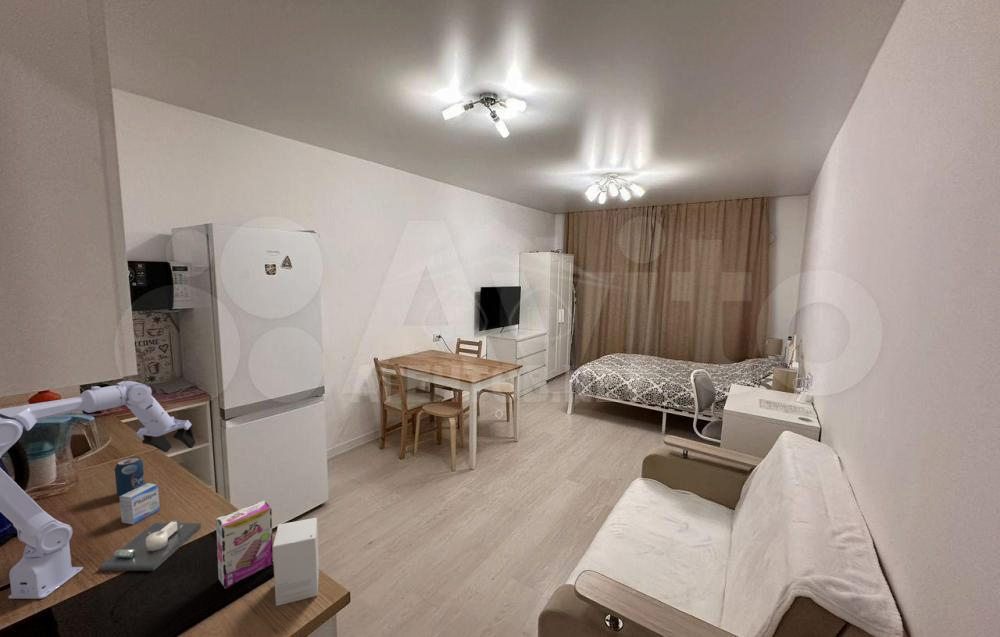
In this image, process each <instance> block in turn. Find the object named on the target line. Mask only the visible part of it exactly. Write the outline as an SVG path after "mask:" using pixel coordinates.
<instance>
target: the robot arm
mask: <svg viewBox="0 0 1000 637" xmlns="http://www.w3.org/2000/svg"><path fill="white" fill-rule="evenodd" d="M152 392H153V391H152V387H150V386H148V385H146V384H144V383H140V382H137V381H134V380H133V381H131V380H126V381H125V380H122V381H120V382H117V383H116V384H115V385H114V384H113V385H108V386H104V387H101V386H97V385H94V386H91V387H90V389H88V390H84V391H83V392H82V393H80V394H79V395H78V396H75V397H70V398H62V399H57V400H49V401H42V402H36V403H30V404H24V405H18V406H10V407H4V408H0V459H1V458H2V456H3V455H4V454H5V453H6V452H8V450H10V448H12V447H13V445H15V444H16V443H17V441H19V439H20V438H21V436H22V434H23V431H27V432H29V431H30V430H31V429H32V428H34V426H35V425H36V423H37V422H38V421H40V420H46V419H49V418H52V417H57V416H60V415H64V414H68V413H72V412H77V411H83V412H85V413H95V412H99V411H103V410H108V409H113V408H117V407H121V406H125V405H126V406H127V409H129V411H130V412H131V413H132V414H133V416H135V417H136V418H137V420H139V422H140V423H141V424H142V425H143V426H144V427H141V428H139V430H138V431H137V432H136V435H137V436H138V437H139V438H140V439H141V438H143V440H142V442H141V443H142V444H144V445H148V446H151V447H154V448H156V449H158V450H161V452H163V453H168V452H169V451H170V449H171V448H172V445H171V443H170V442H169V440H168V439H167V438H166V436H165V435H166V434H168V433H171V432H174V431H176V432H175V433H174V435H173V436H172V437H173V439H176V440H179V441H180V442H182V444H183V445H185V446H186V447H187V448H189V449H193V447H194V446H195V445H196V440H195V438H194V434H193V422H192V421H191V422H190V421H189V419H187V420H182V419H176V418H175V417H174V416H171V415H169V414H168V413H167V411H166V410H165V409H164V408H163V406H162V405H161V403H159V402H158V401H157V399H155V397H154V396H153V395H152ZM0 513H1V514H2V515H3V516H4V517H5V518H7V519H8V521H10V522H11V523H12V525H13V528H15V529H16V531H17V538H18V540H19V541H20V542H22V543H25V547H24V549H23V555H22V558H21V559H20V560H19V561H18V562H17V563H16V564H15V565H13V567H11V569H10V570H9V574H8V575H9V576H8V577H9V583H10V590H11V591H10V592H11V594H10V595H8V600H9V599H14V600H15V599H22V600H23V599H29V600H31V599H34V600H35V599H41V600H42V599H44V598H46V597H47V596H49V595H50V594H51V593H53V592H54V591H56V590H57V589H58V588H59V587H62V586H63V585H64V584H65V583H66V582H68V581H69V580H70V579H71V578H73V577H74V576H76V575H77V574H79V573H80V572H81V571H83V569H84V567H83V566H72V556H71V549H70V547H71V546H70V540H71V538H72V536H73V528H72V526H71V525H70V524H67V523H63V522H62V521H59V520H57V519H56V518H55V517H53V516H52V515H50V514H49V513H48V512H47V511H45V510H44V509H42V507H41V506H39V504H38V503H37V502H36V501H35V500H34V499H33V498H32V497H31V496H29V494H28V493H27V492H25V490H24V489H22V488H21V487H20V485H18V483H17V482H16V481H14V480H13V479H12V477H11V476H9V474H7V473H6V471H4V470H3V469H2V468H1V467H0Z"/></svg>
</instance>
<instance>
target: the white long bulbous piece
mask: <svg viewBox="0 0 1000 637" xmlns="http://www.w3.org/2000/svg"><path fill="white" fill-rule="evenodd" d="M179 528H180V519H172V520H171V521H170V522H169V524H168V525H167V526H165V527H164V528H163V529H162V530H160V531H158V532H155V533H152V534H150V535H149V536H148V537H147V538H146V549H147V551H156V550H159V549H161V548H163V547H165V546H166V545H167V544H168V537H169V536H171V535H172V534H173V533H174V532H175V531H177V530H178V529H179Z"/></svg>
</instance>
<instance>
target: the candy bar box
mask: <svg viewBox="0 0 1000 637" xmlns="http://www.w3.org/2000/svg"><path fill="white" fill-rule="evenodd" d="M272 514H273V513H272V506H270V505H269V504H268V503H267V501H265V500H262V501H258V502H257V503H254V504H251V505H250V506H245V507H244V508H240V509H238V510H235V511H233V512H230V513H227V514H224V515H222V516H219V517H217V518H216V519H215V527H216V529H215V530H216V546H217V548H216V552H217V554H216V555H217V568H218V569H217V575H218V581H219V582H220V583H221V585H222V586H224V587H223V588H224V589H225V590H226V589H228V588H230V587H232V586H234V585H236V584H238V583H240V582H242V581H243V579H244V580H246V579H247V577H248V578H249V576H250V577H251V575H252V576H253V574H254V575H256V574H257V573H259V572H258V571H260V572H262V571H263V570H262V569H264V570H265V568H266V567H268V566H270V565H272V566H274V561H273V548H272V547H273V525H272V524H273V522H272V521H273V518H272ZM270 567H271V566H270ZM268 568H269V567H268ZM266 569H267V568H266ZM261 570H262V571H261ZM256 572H257V573H256ZM255 573H256V574H255ZM245 578H246V579H245ZM241 580H242V581H241ZM239 581H240V582H239Z"/></svg>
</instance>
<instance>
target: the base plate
mask: <svg viewBox="0 0 1000 637" xmlns="http://www.w3.org/2000/svg"><path fill="white" fill-rule="evenodd" d="M169 523H170V522H169ZM169 523H168V522H155V523H153V524H152V525H150V526H149V527H148V528H147V529H146V530H144V531H143V532H141V533H140V534H138V535H137V536H136V537H135V538H133V539H132V540H131V541H130V542H128V543H127V544H125V546H123V547H121V548H120V549H117V550H115V551H114V553H113V555H111V556H110V557H109V558H108V559H106V560H105V561H104V562H102V563H101V564H99V566H100V568H99V569H100V571H104V572H105V571H107V572H108V571H113V572H114V571H115V572H117V571H122V572H125V571H128V572H129V571H131V572H132V571H140V572H141V571H142V572H143V571H146V572H147V571H155V570H156V569H157V568H159V566H160V565H162V564H163V563H165V561H166V560H167V559H169V557H171V556H172V555H173V554H174V553H175V552H176V551H178V549H179V548H181V547H182V545H184V544H185V543H186V542H187V541H188V540H190V538H192V537H193V536H194V535H196V533H197V532H198V531H199V530H200V529H201V528H202V527H201V526H202V525H201V523H199V522H198V523H197V522H195V523H194V522H188V523H187V522H183V523H182V522H181V523H180V528H179V529H178V530H177V531H175V532H174V533H173V534H172V535H171V536H169V537H168V544H167V545H166V546H165V547H163V548H161V549H159V550H156V551H147V549H146V538H147V537H148V536H149V535H150V534H152V533H155V532H158V531H160V530H162V529H163V528H164V527H165V526H167V525H168V524H169Z"/></svg>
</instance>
